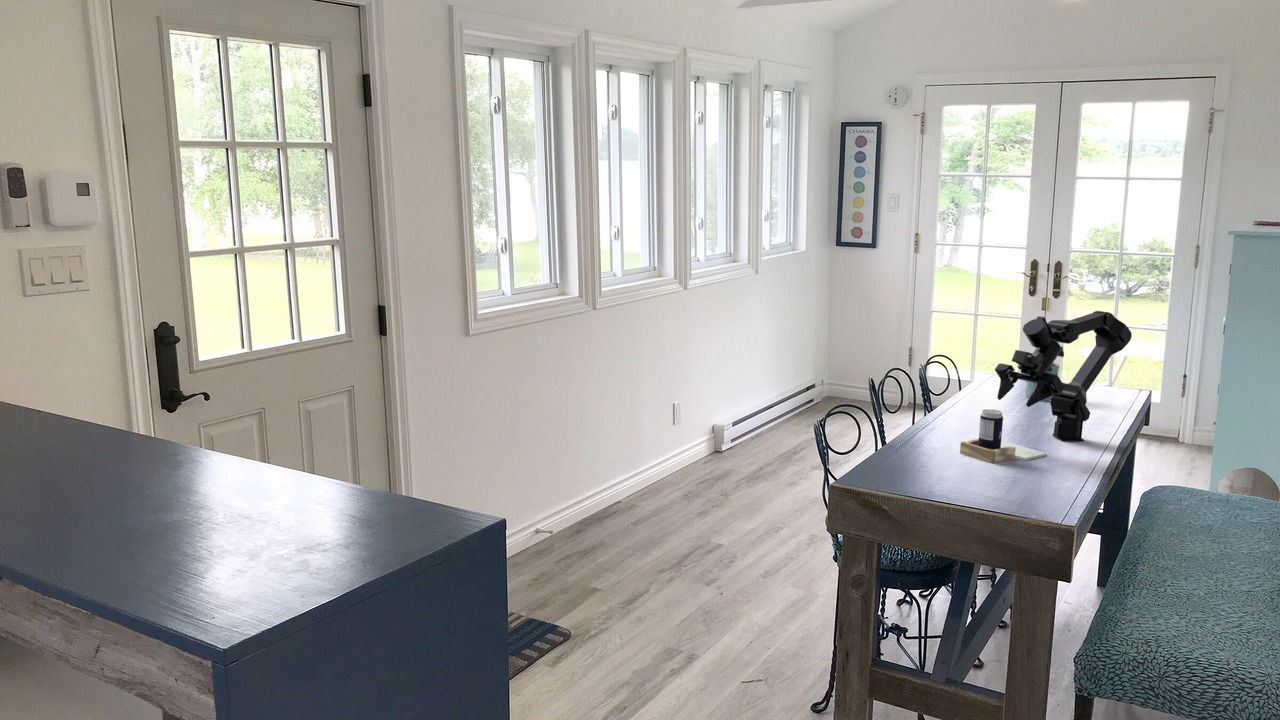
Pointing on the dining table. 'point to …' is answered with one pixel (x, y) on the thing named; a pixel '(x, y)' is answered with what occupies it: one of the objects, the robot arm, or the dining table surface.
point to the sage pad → (1023, 451)
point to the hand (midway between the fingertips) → (1012, 402)
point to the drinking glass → (1032, 386)
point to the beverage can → (990, 429)
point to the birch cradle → (986, 451)
